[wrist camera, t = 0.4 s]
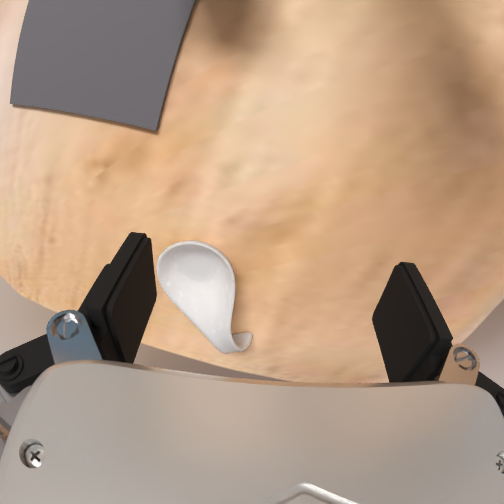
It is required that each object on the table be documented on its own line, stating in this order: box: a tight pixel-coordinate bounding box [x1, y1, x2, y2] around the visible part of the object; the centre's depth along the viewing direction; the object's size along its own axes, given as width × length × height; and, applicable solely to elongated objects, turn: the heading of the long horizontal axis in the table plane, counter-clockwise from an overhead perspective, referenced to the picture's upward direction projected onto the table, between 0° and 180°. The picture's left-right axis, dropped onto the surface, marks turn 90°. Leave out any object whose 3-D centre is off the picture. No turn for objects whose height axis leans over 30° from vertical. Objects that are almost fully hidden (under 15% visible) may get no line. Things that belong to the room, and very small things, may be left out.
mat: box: [10, 0, 196, 131], centre depth 28 cm, size 22×26×1 cm
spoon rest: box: [157, 240, 253, 354], centre depth 48 cm, size 24×12×7 cm, turn 21°
